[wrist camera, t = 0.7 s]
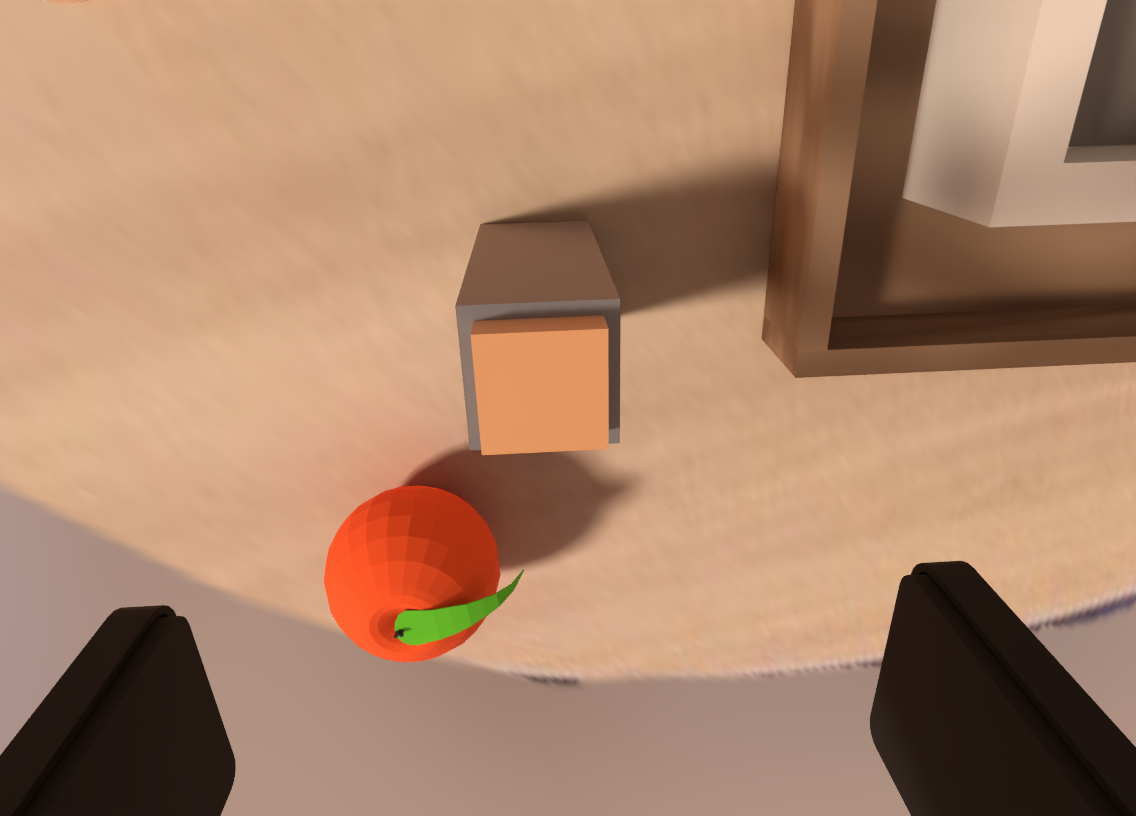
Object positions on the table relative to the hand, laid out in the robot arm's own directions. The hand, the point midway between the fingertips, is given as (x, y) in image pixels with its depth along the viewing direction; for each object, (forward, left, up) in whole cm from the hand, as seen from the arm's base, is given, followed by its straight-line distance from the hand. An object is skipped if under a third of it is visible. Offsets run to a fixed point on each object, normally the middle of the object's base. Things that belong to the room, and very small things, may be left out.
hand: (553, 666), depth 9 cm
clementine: (+11, -5, -20) cm, 23 cm away
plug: (0, 0, -20) cm, 20 cm away
